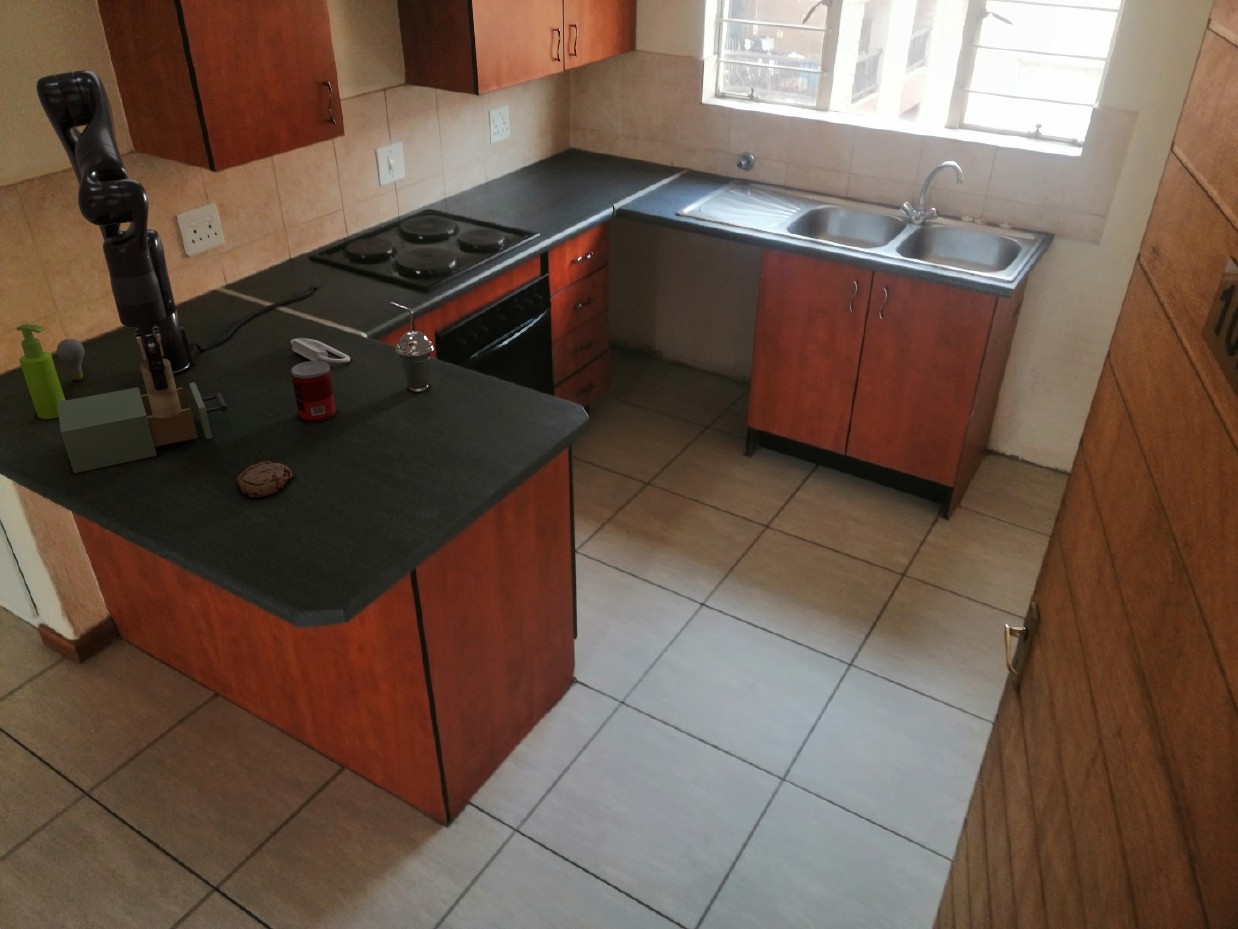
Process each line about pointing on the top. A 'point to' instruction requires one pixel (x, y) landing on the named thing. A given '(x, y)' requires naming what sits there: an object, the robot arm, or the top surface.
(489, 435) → the top surface
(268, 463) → the cookie
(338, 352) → the white long looped piece
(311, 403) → the canned food
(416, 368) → the cup with straw
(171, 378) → the roller
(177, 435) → the drawer
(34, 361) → the soap dispenser
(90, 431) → the cabinet
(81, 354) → the light bulb
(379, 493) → the top surface
